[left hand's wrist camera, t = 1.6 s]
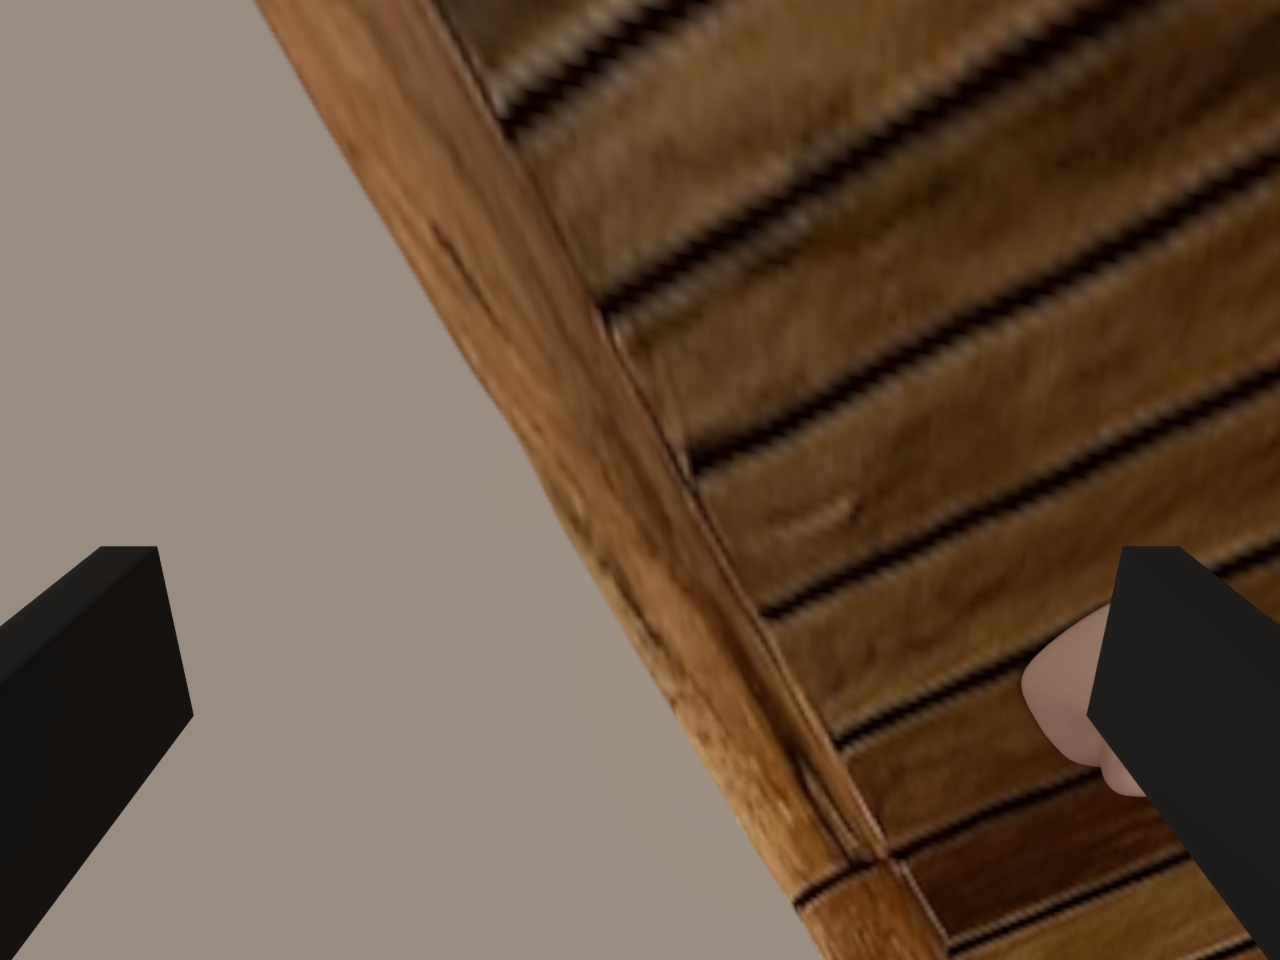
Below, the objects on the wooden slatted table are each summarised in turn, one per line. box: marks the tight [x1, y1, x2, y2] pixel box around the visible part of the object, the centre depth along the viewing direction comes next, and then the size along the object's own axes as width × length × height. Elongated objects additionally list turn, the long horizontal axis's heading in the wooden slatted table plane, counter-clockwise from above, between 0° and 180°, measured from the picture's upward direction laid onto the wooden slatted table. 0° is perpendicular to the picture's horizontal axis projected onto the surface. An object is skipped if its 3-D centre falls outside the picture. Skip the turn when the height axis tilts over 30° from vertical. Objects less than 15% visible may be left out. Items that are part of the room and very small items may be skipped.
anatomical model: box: [1021, 603, 1146, 796], centre depth 45 cm, size 13×4×12 cm
